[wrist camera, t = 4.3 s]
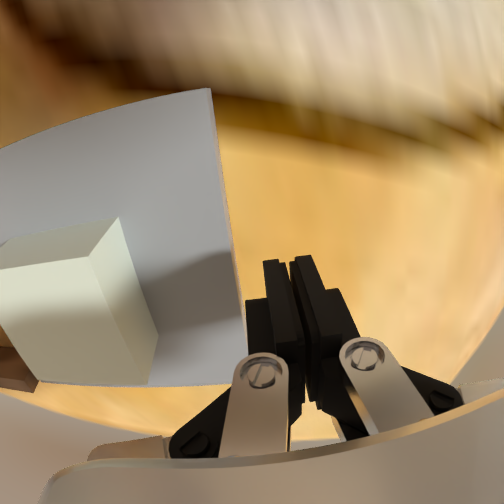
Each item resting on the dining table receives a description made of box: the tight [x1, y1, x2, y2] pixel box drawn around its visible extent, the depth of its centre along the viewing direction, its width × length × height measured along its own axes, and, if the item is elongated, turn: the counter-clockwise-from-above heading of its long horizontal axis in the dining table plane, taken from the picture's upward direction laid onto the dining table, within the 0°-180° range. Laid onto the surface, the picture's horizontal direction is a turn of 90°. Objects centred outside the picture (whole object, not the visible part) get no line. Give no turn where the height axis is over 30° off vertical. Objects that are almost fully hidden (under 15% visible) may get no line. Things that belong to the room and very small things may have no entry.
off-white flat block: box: [0, 217, 159, 385], centre depth 11 cm, size 6×6×3 cm
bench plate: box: [0, 88, 248, 387], centre depth 14 cm, size 14×14×2 cm
